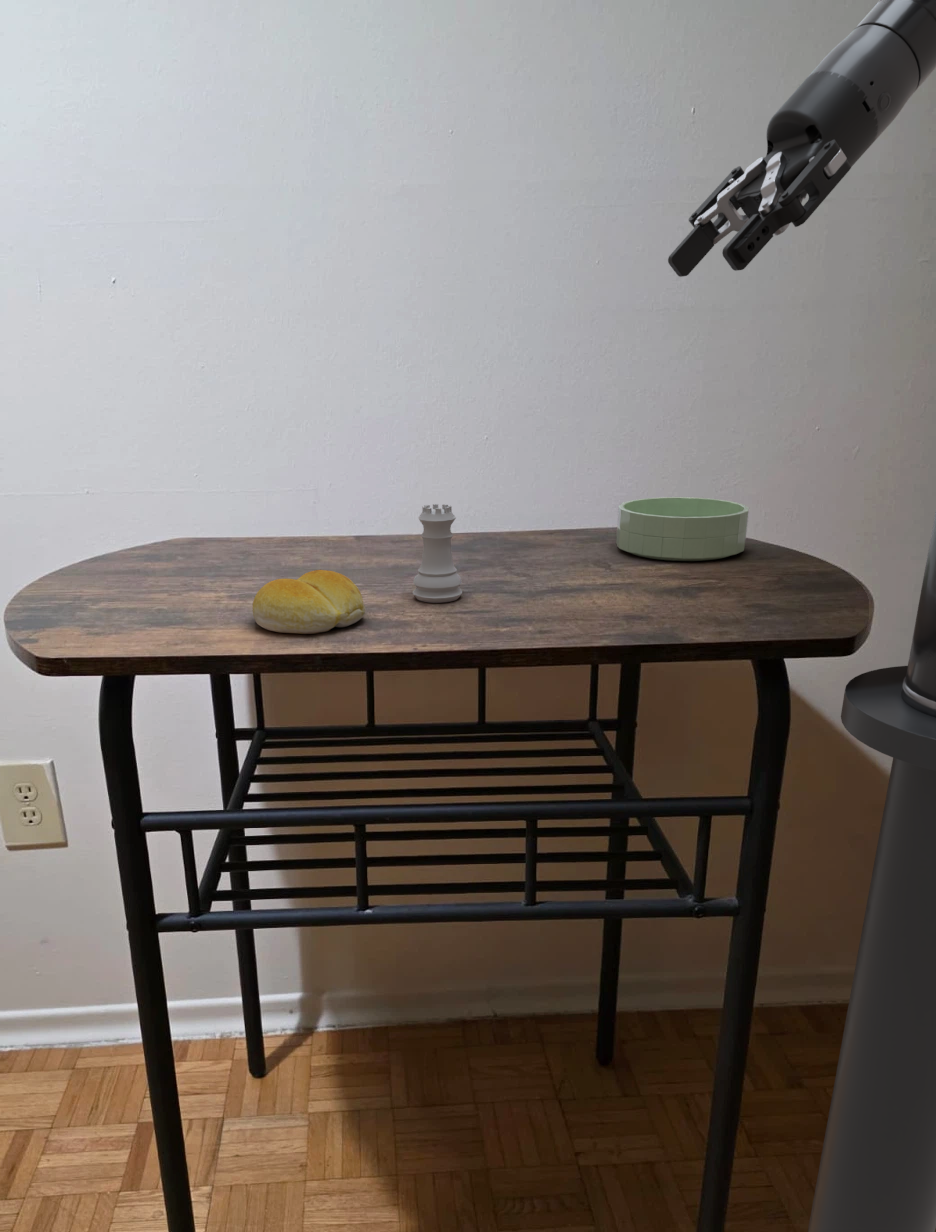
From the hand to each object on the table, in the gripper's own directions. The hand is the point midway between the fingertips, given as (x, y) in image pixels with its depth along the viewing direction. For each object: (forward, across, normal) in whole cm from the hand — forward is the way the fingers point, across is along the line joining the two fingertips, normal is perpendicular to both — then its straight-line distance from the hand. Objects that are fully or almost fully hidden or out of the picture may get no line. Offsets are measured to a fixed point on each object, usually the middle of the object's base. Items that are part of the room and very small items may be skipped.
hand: (701, 266), depth 80 cm
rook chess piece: (+35, -2, +3) cm, 35 cm away
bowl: (+14, -12, +24) cm, 30 cm away
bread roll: (+43, +2, -6) cm, 44 cm away
